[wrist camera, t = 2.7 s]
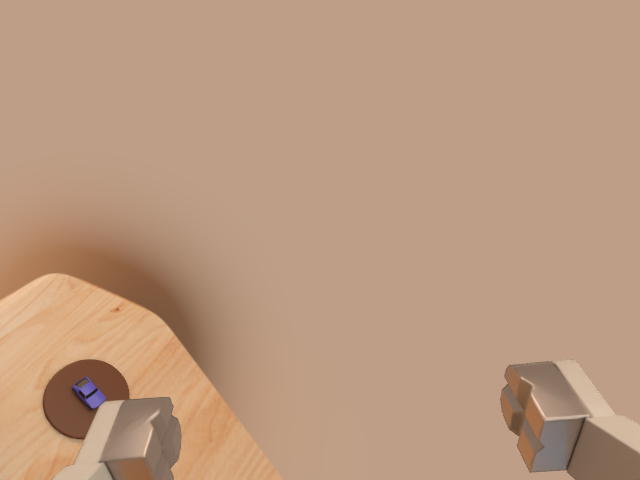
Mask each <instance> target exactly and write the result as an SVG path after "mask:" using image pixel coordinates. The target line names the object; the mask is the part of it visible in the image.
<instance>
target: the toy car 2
mask: <svg viewBox="0 0 640 480" xmlns="http://www.w3.org/2000/svg"><path fill="white" fill-rule="evenodd" d="M128 399H129V389H128V385H127V383H126V380H125V379H124V377H123V376H122V374H121V373H120V372H119V371H118V370H117V369H116V368H114V367H113V366H112V365H110V364H108V363H106V362H103V361H99V360H90V359H89V360H81V361H77V362H74V363H71V364H69V365H67V366H66V367H64V368H63V369H61V370H60V371H59V372H57V373H56V374H55V375H54V377H53V378H52V379H51V380H50V382H49V384H48V385H47V388H46V390H45V393H44V399H43V406H44V411H45V414H46V417H47V419H48V420H49V422H50V423H51V424H52V425H53V427H54V428H55V429H57V430H58V431H59V432H61V433H62V434H64V435H66V436H69V437H72V438H77V439H85V437H86V435H87V433H88V430H89V428H90V426H91V424H92V422H93V419H94V417H95V415H96V413H97V410H98V408H99V407H100V406H101V405H102V404H103V402H104V401H117V400H128Z"/></svg>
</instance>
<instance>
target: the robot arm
mask: <svg viewBox="0 0 640 480" xmlns="http://www.w3.org/2000/svg"><path fill="white" fill-rule="evenodd" d="M505 379H506V381H507V383H508V384H507V385H506V386H505V387H504V388H503V389H502V393H501V408H502V413H503V416H504V419H505V422H506V424H507V426H508V428H509V430H511V431H512V432H514V433H515V434H516V435H518V436H519V440H518V444H517V447H518V449H519V451H520V453H521V455H522V458H523V460H524V462H525V464H526V466H527V468H528V470H529V472H545V471H560V470H567V473H568V474H570V475H571V476H572V477H573V478H574V479H575V480H640V425H639V424H637V423H635V422H633V421H632V420H630V419H629V418H627V417H625V416H623V415H615V414H614V412H613V411H612V409H611V408H610V407H609V405H608V404H607V403H606V401H605V400H604V399H603V397H602V396H601V394H600V393H599V392H598V390H597V389H596V388H595V386H594V385H593V384H592V383H591V381H590V380H589V378H588V377H587V376H586V375H585V373H584V372H583V370H582V369H581V368H580V366H579V365H578V364H577V362H575V361H574V360H572V359H570V360H560V361H550V362H549V361H547V362H536V363H527V364H517V365H509V366H508V367H507V368H506V371H505ZM172 410H173V404H172V402H171V399H170V397H159V398H143V399H128V400H117V401H104V402H103V404H102V405H101V406H100V407H99V408H98V410H97V413H96V415H95V417H94V419H93V422H92V424H91V426H90V428H89V430H88V433H87V435H86V437H85V439H84V441H83V444H82V446H81V448H80V450H79V453H78V455H77V457H76V459H75V461H74V464H73V465H69V466H66V467H65V468H63V469H62V470H61V471H60V472H59V473H58V474H57V475H56V476H55V477H53V478H52V479H51V480H174V477H173V474H172V471H171V469H170V468H171V467H172V466H173V465H174V464H175V463H176V462H177V460H178V458H179V454H180V449H181V428H180V424H179V421H178V419H177V418H176V417H174V416H173V415H171V414H172Z"/></svg>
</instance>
